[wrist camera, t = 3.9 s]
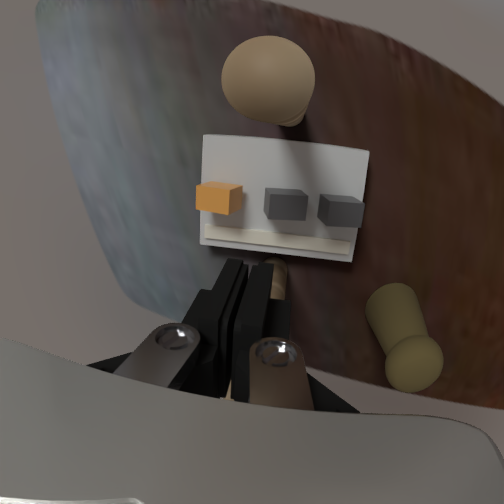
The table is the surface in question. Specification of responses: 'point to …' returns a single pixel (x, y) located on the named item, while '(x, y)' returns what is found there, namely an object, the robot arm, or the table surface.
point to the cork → (403, 338)
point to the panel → (286, 177)
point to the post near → (269, 80)
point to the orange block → (219, 197)
